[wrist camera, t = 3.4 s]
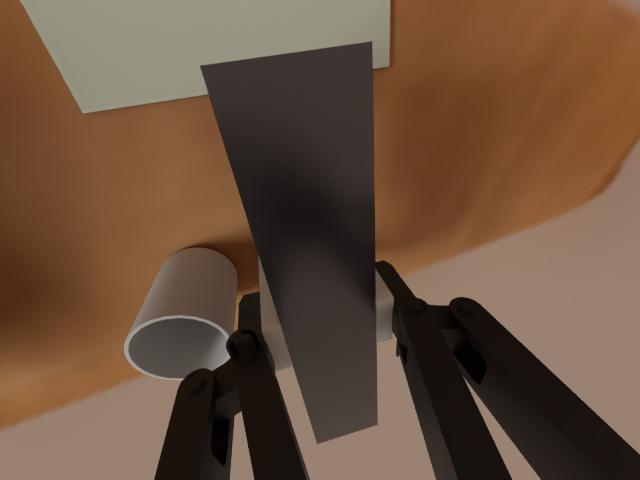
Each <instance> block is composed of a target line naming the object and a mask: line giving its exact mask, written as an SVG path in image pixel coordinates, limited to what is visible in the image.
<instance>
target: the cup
mask: <svg viewBox="0 0 640 480" xmlns="http://www.w3.org/2000/svg"><path fill="white" fill-rule="evenodd" d="M237 286H238V279H237V271H236V268H235V266H234V264H233V263H232V262H231V261H230V260H229V259H228V258H227V257H226V256H224V255H223V254H221V253H219V252H217V251H215V250H212V249H208V248H202V247H199V248H188V249H183V250H180V251H178V252H176V253H174V254H172V255H171V256H170V257H169V258H168V259H166V260H165V262H164V263H163V265H162V267H161V269H160V270H159V272H158V274H157V276H156V279H155V281H154V283H153V285H152V287H151V289H150V291H149V293H148V295H147V297H146V299H145V301H144V303H143V305H142V307H141V310H140V312H139V314H138V316H137V318H136V320H135V322H134V324H133V326H132V328H131V330H130V332H129V334H128V336H127V338H126V341H125V343H124V354H125V356H126V358H127V361H128V362H129V363H130V364H131V365H132V366H133V367H134V368H135V369H137V370H139V371H140V372H142V373H144V374H146V375H149V376H152V377H155V378H159V379H165V380H183V379H184V378H185V377H186V376H187V375H188V374H190V373H191V372H192V371H194V370H197V369H199V368H207V369H209V370H211V371H212V370H214V369H216V368H217V367H219V366H221V365H223V364H224V363H225V362H227V360H228V359H229V358H230V355H229V354H228V352H227V350H226V342H227V340H228V338H229V337H230V336H231V335H232V333H233V332H234V324H235V311H236V298H237Z"/></svg>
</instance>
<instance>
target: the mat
mask: <svg viewBox="0 0 640 480" xmlns="http://www.w3.org/2000/svg"><path fill="white" fill-rule="evenodd" d="M20 1H21V3H22V5H23V7H24V8H25V10H26V12H27V14H28V16H29V17H30V19H31V21H32V23H33V25H34V26H35V28H36V30H37V32H38V34H39V35H40V37H41V39H42V41H43V43H44V44H45V46H46V48H47V50H48V52H49V53H50V55H51V57H52V59H53V61H54V62H55V64H56V66H57V68H58V70H59V71H60V73H61V75H62V77H63V79H64V80H65V82H66V84H67V86H68V88H69V89H70V91H71V93H72V95H73V97H74V98H75V100H76V102H77V104H78V106H79V107H80V109H81V111H82V113H90V112H96V111H103V110H109V109H116V108H122V107H129V106H135V105H142V104H148V103H155V102H161V101H168V100H174V99H181V98H187V97H194V96H200V95H207V94H208V91H207V87H206V84H205V81H204V78H203V74H202V71H201V68H200V66H201V65H208V64H215V63H222V62H229V61H236V60H244V59H251V58H258V57H265V56H272V55H279V54H286V53H293V52H300V51H307V50H314V49H321V48H328V47H335V46H342V45H349V44H356V43H363V42H371V41H372V52H373V69H376V68H382V67H389V61H390V0H20Z"/></svg>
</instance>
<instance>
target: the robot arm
mask: <svg viewBox="0 0 640 480" xmlns="http://www.w3.org/2000/svg"><path fill="white" fill-rule="evenodd" d="M258 264H259V285H260V292H256V293H251V294H247V295H243V297H242V299H241V301H240V303H239V315H238V319H239V320H238V330H237V331H235V332H233V333H232V335H231V336H230V337H229V338H228V340H227V342H226V350H227V352H228V354H229V355H230V357H231V358H230V359H229V360H228V361H227V362H225V363H224V364H223V365H221V366H219V367H217V368H216V369H214V370H212V371H211V370H209V369H207V368H199V369H197V370H194V371H192V372H191V373H190V374H188V375H187V376H186V377H185V378H184V379H183V380H182V382H181V384H180V386H179V388H178V391H177V395H176V399H175V403H174V406H173V410H172V414H171V418H170V421H169V425H168V429H167V433H166V437H165V441H164V444H163V448H162V452H161V456H160V460H159V463H158V467H157V471H156V475H155V479H154V480H230V468H231V455H232V441H233V429H234V416H235V415H236V414H238V413H239V412H241V411H242V415H243V421H244V426H245V432H246V437H247V442H248V448H249V453H250V458H251V464H252V469H253V474H254V480H310V479H309V475H308V472H307V469H306V466H305V463H304V461H303V457H302V454H301V451H300V448H299V445H298V442H297V439H296V436H295V433H294V430H293V427H292V424H291V420H290V417H289V414H288V412H287V408H286V406H285V402H284V399H283V396H282V393H281V390H280V387H279V384H278V381H277V378H276V375H275V369H276V371H279V370H283V369H287V368H290V367H293V363H292V360H291V357H290V354H289V350H288V347H287V344H286V341H285V338H284V334H283V331H282V328H281V325H280V322H279V319H278V316H277V313H276V309H275V306H274V303H273V300H272V297H271V293H270V290H269V287H268V284H267V280H266V277H265V274H264V271H263V268H262V264H261V261H260V258H259V255H258ZM375 273H376V341H377V343H378V342H382V341H385V340H388V339H392V333H394V334H395V336H396V338H397V347H396V356H397V357H398V356H399V355H400V358H401V362H402V365H403V369H404V372H405V375H406V379H407V382H408V385H409V389H410V392H411V395H412V399H413V402H414V406H415V409H416V413H417V416H418V419H419V423H420V426H421V430H422V433H423V436H424V440H425V443H426V447H427V450H428V453H429V457H430V460H431V463H432V467H433V470H434V473H435V477H436V480H512V478H511V476H510V474H509V472H508V470H507V468H506V465H505V464H504V461H503V459H502V457H501V455H500V453H499V451H498V449H497V447H496V445H495V443H494V440H493V438H492V436H491V434H490V432H489V430H488V428H487V426H486V424H485V421H484V419H483V417H482V415H481V413H480V411H479V409H478V407H477V405H476V403H475V401H474V398H473V397H472V394H471V392H470V390H469V388H468V386H467V384H466V382H465V380H464V378H465V379H466V380H467V382H468V383H469V384H470V386H471V387H472V388H473V390H474V391H475V392H476V394H477V395H478V396H479V398H480V399H481V400H482V402H483V403H484V404H485V406H486V407H487V408H488V409H489V411H490V412H491V414H492V415H493V416H494V418H495V419H496V420H497V422H498V423H499V424H500V426H501V427H502V428H503V430H504V431H505V432H506V434H507V435H508V436H509V438H510V439H511V440H512V442H513V443H514V444H515V446H516V447H517V448H518V450H519V451H520V452H521V454H522V455H523V456H524V458H525V459H526V460H527V461H528V463H529V464H530V466H531V467H532V468H533V469H534V471H535V472H536V473H537V475H538V476H539V477H540V479H541V480H640V455H639V454H638V453H637V452H636V451H635V450H634V449H633V448H632V447H631V446H630V445H629V444H628V443H627V442H626V441H625V440H623V439H622V438H621V437H620V436H619V435H618V434H617V433H616V432H615V431H614V430H613V429H612V428H611V427H610V426H609V425H608V424H607V423H606V422H604V421H603V420H602V419H601V418H600V417H599V416H598V415H597V414H596V413H595V412H594V411H593V410H592V409H591V408H590V407H588V406H587V405H586V404H585V403H584V402H583V401H582V400H581V399H580V398H579V397H578V396H577V395H576V394H575V393H574V392H572V390H570V389H569V388H568V387H567V386H566V385H565V384H564V383H563V382H562V381H561V380H560V379H559V378H558V377H557V376H556V375H555V374H553V373H552V372H551V371H550V370H549V369H548V368H547V367H546V366H545V365H544V364H543V363H542V362H541V361H540V360H539V359H538V358H536V357H535V356H534V355H533V354H532V353H531V352H530V351H529V350H528V349H527V348H526V347H525V346H524V345H523V344H522V343H521V342H519V341H518V340H517V339H516V338H515V337H514V336H513V335H512V334H511V333H510V332H509V331H508V330H507V329H506V328H505V327H504V326H503V325H501V324H500V323H499V322H498V321H497V320H496V319H495V318H494V317H493V316H492V315H491V314H490V313H489V312H488V311H486V310H485V309H484V308H483V307H482V306H481V305H480V304H479V303H477V302H476V301H474V300H472V299H470V298H465V297H459V298H455V299H453V300H451V302H450V304H449V306H436V305H429V304H427V303H426V302H425V301H423V300H422V299H418V298H416V297H415V296H414V295H413V293H412V292H411V290H410V289H409V288H408V286H407V285H406V284H405V282H404V281H403V280H402V278H400V276H399V274H398V273H397V272H396V270H395V269H394V267H393V266H392V265H391V264H389V263H388V262H386V261H384V260H383V261H379V262H375ZM463 376H464V378H463Z"/></svg>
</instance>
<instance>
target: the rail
mask: <svg viewBox="0 0 640 480" xmlns="http://www.w3.org/2000/svg"><path fill="white" fill-rule="evenodd" d="M200 68H201V71H202V74H203V78H204V81H205V84H206V87H207V91H208V94H209V97H210V100H211V103H212V107H213V110H214V113H215V116H216V120H217V123H218V126H219V129H220V132H221V136H222V139H223V142H224V145H225V148H226V152H227V155H228V158H229V161H230V165H231V168H232V171H233V174H234V177H235V181H236V184H237V187H238V190H239V194H240V197H241V200H242V203H243V206H244V210H245V213H246V216H247V219H248V223H249V226H250V229H251V232H252V235H253V239H254V242H255V245H256V248H257V251H258V255H259V258H260V261H261V264H262V268H263V271H264V274H265V277H266V280H267V284H268V287H269V290H270V293H271V297H272V300H273V303H274V306H275V309H276V313H277V316H278V319H279V322H280V325H281V328H282V331H283V334H284V338H285V341H286V344H287V347H288V350H289V354H290V357H291V360H292V363H293V367H294V371H295V374H296V377H297V380H298V383H299V386H300V390H301V393H302V396H303V399H304V403H305V406H306V409H307V412H308V415H309V419H310V422H311V425H312V428H313V432H314V435H315V438H316V441H317V444H319V443H322V442H325V441H328V440H331V439H334V438H337V437H341V436H343V435H347V434H350V433H353V432H356V431H359V430H362V429H366V428H368V427H372V426H375V425H378V424H377V422H378V421H377V354H376V353H377V351H376V349H377V348H376V273H375V199H374V126H373V52H372V41H371V42H363V43H356V44H349V45H342V46H335V47H328V48H321V49H314V50H307V51H300V52H293V53H286V54H279V55H272V56H265V57H258V58H251V59H244V60H236V61H229V62H222V63H215V64H208V65H201V66H200Z"/></svg>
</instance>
